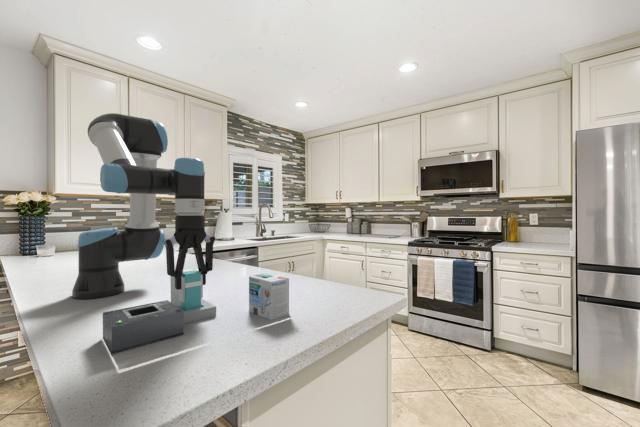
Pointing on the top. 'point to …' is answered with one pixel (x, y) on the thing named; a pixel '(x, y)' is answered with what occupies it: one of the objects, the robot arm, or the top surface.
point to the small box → (175, 290)
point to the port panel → (141, 325)
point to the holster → (199, 312)
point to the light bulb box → (269, 295)
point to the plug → (192, 290)
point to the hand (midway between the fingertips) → (190, 298)
